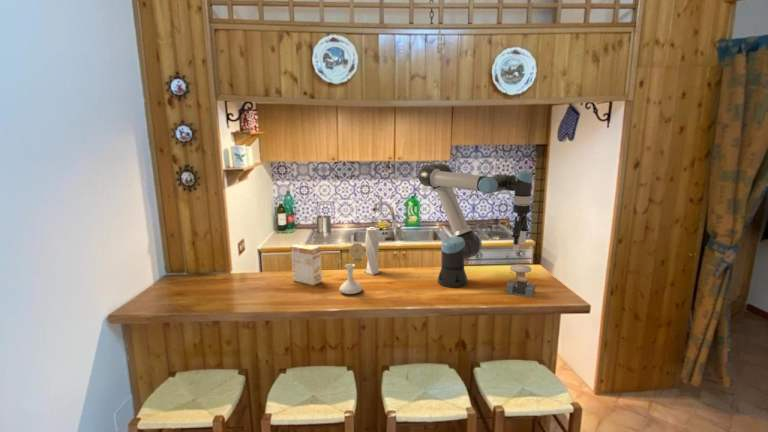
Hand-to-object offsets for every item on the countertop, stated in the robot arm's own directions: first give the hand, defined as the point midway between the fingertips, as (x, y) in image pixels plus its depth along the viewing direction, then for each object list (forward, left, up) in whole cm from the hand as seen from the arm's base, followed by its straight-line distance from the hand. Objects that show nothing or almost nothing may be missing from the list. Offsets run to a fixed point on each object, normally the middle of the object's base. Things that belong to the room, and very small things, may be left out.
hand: (519, 247), depth 200 cm
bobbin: (0, +5, -21) cm, 22 cm away
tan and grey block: (+3, -5, -21) cm, 22 cm away
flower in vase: (-72, -40, -22) cm, 85 cm away
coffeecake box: (-102, -38, -22) cm, 111 cm away
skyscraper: (-77, -11, -22) cm, 80 cm away
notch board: (+2, -5, -21) cm, 22 cm away
